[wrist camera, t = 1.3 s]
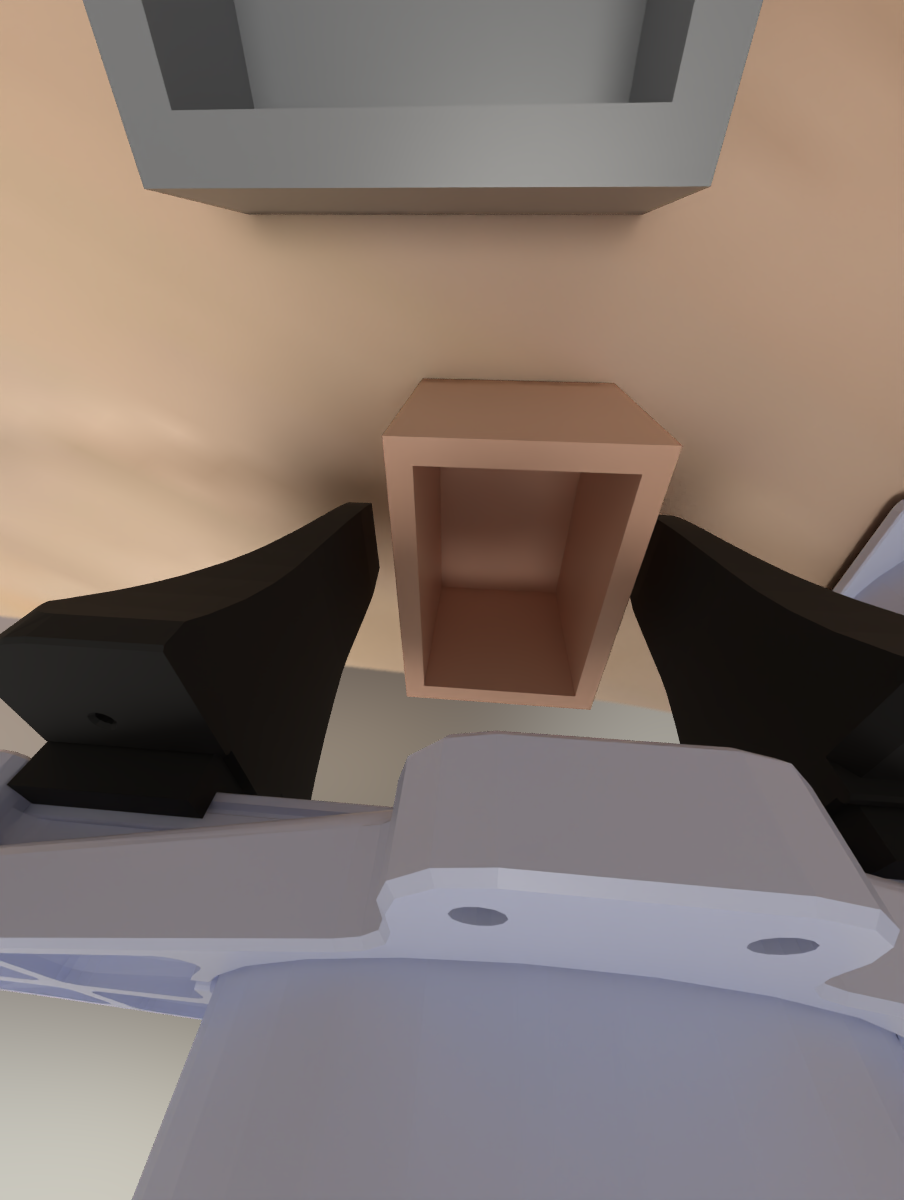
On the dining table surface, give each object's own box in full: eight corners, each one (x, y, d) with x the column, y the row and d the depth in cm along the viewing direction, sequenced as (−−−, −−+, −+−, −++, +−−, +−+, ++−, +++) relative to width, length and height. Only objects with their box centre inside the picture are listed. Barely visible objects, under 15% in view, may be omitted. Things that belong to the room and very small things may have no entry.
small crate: (614, 383, 11) (683, 445, 7) (565, 596, 15) (590, 709, 11) (422, 378, 11) (381, 435, 7) (429, 588, 15) (406, 696, 11)
